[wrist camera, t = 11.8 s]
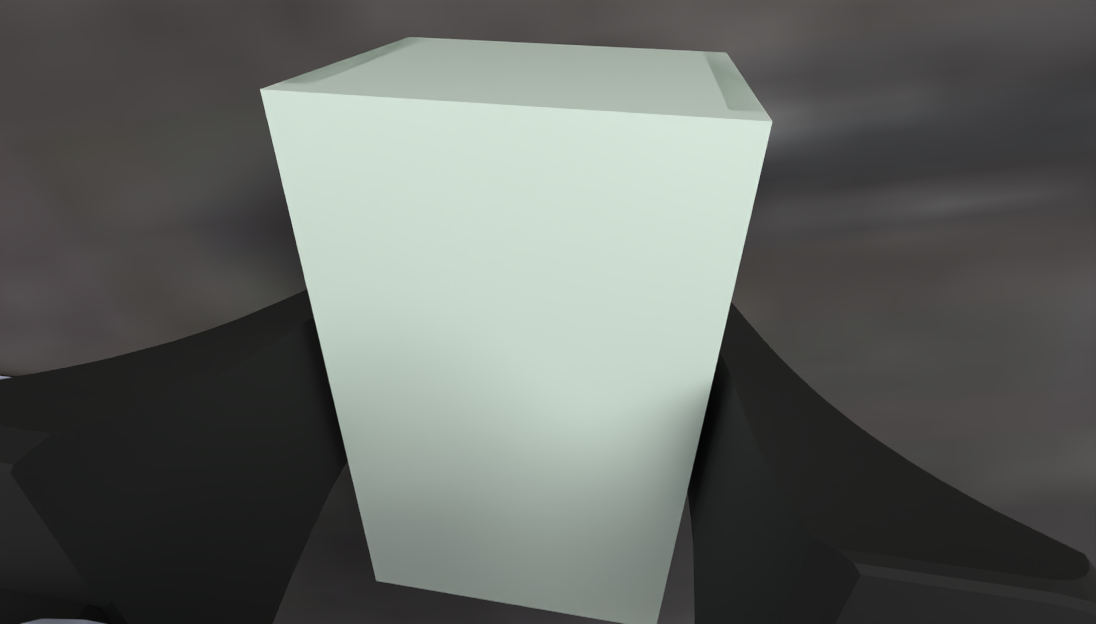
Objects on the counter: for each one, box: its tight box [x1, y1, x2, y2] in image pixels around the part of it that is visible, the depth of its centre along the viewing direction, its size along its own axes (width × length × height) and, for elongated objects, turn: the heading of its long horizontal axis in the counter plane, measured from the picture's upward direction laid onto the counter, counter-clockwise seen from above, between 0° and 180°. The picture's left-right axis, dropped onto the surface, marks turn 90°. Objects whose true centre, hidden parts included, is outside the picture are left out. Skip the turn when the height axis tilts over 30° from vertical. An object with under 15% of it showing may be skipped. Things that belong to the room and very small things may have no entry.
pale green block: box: [260, 37, 772, 624], centre depth 11 cm, size 6×10×5 cm, turn 179°
